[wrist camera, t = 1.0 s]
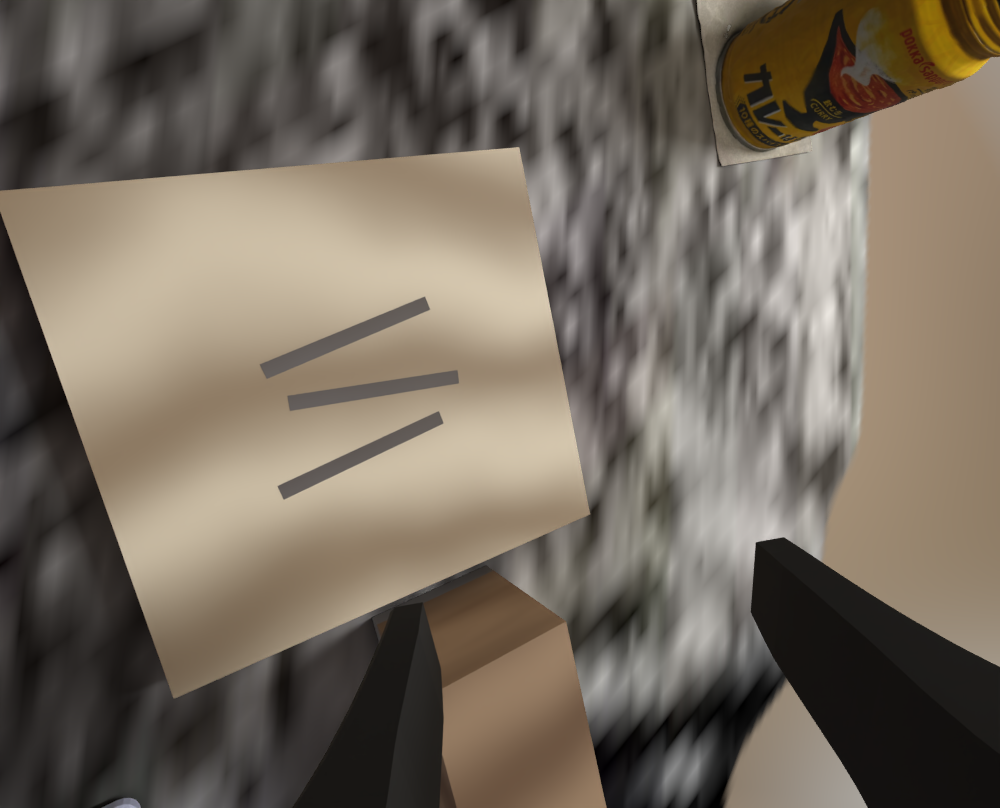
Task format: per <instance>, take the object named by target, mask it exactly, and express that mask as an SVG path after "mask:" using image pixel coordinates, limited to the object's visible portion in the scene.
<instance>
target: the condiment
mask: <svg viewBox="0 0 1000 808" xmlns="http://www.w3.org/2000/svg"><path fill="white" fill-rule="evenodd" d="M697 9H698V17H699V20H700V24H701V35H702V44H703V47H704V51H705V54H704V58H705V63H706V76H707V86H708V93H709V98H710V103H711V113H712V118H713V127H714V132H715V136H716V146H717V152H718V156H719V160H720V163H721V165H722V166H727V165H732V164H739V163H746V162H752V161H758V160H765V159H770V158H776V157H782V156H788V155H793V154H799V153H805V152H811V151H812V144H811V138H810V136H812V135H815V134H817V133H820V132H824V131H826V130H828V129H830V128H833V127H836V126H839V125H842V124H845V123H848V122H851V121H853V120H855V119H858V118H861V117H864V116H867V115H869V114H871V113H874V112H877V111H879V110H882V109H885V108H888V107H892V106H894V105H897V104H899V103H902V102H905V101H906V100H909V99H911V98H914V97H917V96H919V95H922V94H924V93H928V92H930V91H933V90H935V89H941V88H944V87H947V86H951V85H952V84H954V83H956V82H959V81H962V80H964V79H966V78H968V77H970V76H971V75H973V74H974V73H976V72H977V71H978V70H979V69H980V68H981V67H982V66H983V65H984V64H985V63H986V62H987V61H988V60H989V58H990V57H1000V0H697ZM728 25H731V27H730V30H729V31H727V27H728ZM726 33H728V37H727V38H725V34H726Z"/></svg>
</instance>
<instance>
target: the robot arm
mask: <svg viewBox="0 0 1000 808" xmlns="http://www.w3.org/2000/svg"><path fill="white" fill-rule="evenodd" d="M751 613H752V616H753V618H754V620H755V622H756V624H757V626H758V628H759V630H760V632H761V634H762V636H763V638H764V640H765V642H766V644H767V646H768V648H769V650H770V652H771V654H772V656H773V658H774V659H775V661H776V662H777V664H778V666H779V667H780V669H781V670H782V672H783V673H784V675H785V677H786V678H787V680H788V681H789V683H790V684H791V686H792V687H793V689H794V690H795V692H796V693H797V695H798V697H799V698H800V700H801V701H802V702H803V704H804V706H805V707H806V709H807V710H808V712H809V713H810V715H811V716H812V718H813V719H814V721H815V722H816V724H817V725H818V727H819V728H820V730H821V732H822V733H823V735H824V736H825V738H826V739H827V741H828V742H829V744H830V745H831V747H832V748H833V750H834V751H835V753H836V754H837V756H838V757H839V759H840V760H841V762H842V764H843V765H844V767H845V769H846V770H847V772H848V773H849V775H850V777H851V778H852V780H853V782H854V783H855V785H856V787H857V789H858V790H859V792H860V794H861V796H862V798H863V800H864V801H865V803H866V805H867V807H868V808H1000V667H999V666H997V665H995V664H993V663H991V662H989V661H987V660H984V659H983V658H981V657H979V656H977V655H975V654H973V653H971V652H969V651H967V650H965V649H963V648H961V647H960V646H958V645H956V644H954V643H952V642H950V641H948V640H947V639H945V638H943V637H941V636H940V635H938V634H936V633H934V632H933V631H931V630H929V629H927V628H926V627H924V626H922V625H920V624H919V623H916V622H915V621H913V620H912V619H910V618H908V617H906V616H905V615H903V614H902V613H899V612H898V611H897V610H895V609H893V608H892V607H890V606H888V605H887V604H885V603H884V602H882V601H880V600H879V599H877V598H876V597H874V596H873V595H871V594H869V593H868V592H866V591H865V590H863V589H861V588H860V587H858V586H857V585H855V584H854V583H852V582H851V581H849V580H848V579H846V578H844V577H843V576H841V575H840V574H839V573H837V572H836V571H834V570H832V569H831V568H829V567H828V566H826V565H825V564H824V563H822V562H821V561H819V560H818V559H816V558H815V557H813V556H812V555H810V554H809V553H807V552H806V551H804V550H803V549H801V548H800V547H798V546H796V545H795V544H793V543H792V542H790V541H789V540H787V539H786V538H784V537H783V538H778V539H772V540H766V541H761V542H756V549H755V562H754V576H753V590H752V603H751ZM443 724H444V714H443V693H442V676H441V666H440V663H439V659H438V655H437V652H436V648H435V645H434V641H433V637H432V634H431V630H430V626H429V623H428V619H427V615H426V612H425V608H424V604H423V602H421V603H415V604H410V605H404V606H398V607H394V608H393V610H392V611H391V612H390V614H389V617H388V620H387V623H386V626H385V628H384V631H383V634H382V636H381V639H380V641H379V644H378V646H377V649H376V651H375V653H374V656H373V658H372V661H371V663H370V665H369V668H368V670H367V672H366V674H365V676H364V678H363V681H362V683H361V685H360V687H359V689H358V691H357V693H356V696H355V698H354V700H353V702H352V704H351V706H350V708H349V710H348V712H347V714H346V716H345V718H344V720H343V721H342V723H341V725H340V727H339V729H338V731H337V733H336V735H335V737H334V739H333V741H332V742H331V744H330V746H329V748H328V750H327V752H326V753H325V755H324V757H323V759H322V760H321V762H320V764H319V766H318V767H317V769H316V771H315V772H314V774H313V776H312V777H311V779H310V781H309V782H308V784H307V785H306V787H305V789H304V790H303V792H302V794H301V795H300V797H299V798H298V800H297V802H296V803H295V805H294V806H293V808H439V805H440V786H441V767H442V746H443ZM102 808H141V807H140V804H139V803H138V802H137V800H135V799H132V798H122V799H119V800H116V801H114V802H112V803H110V804H108V805H106V806H104V807H102Z"/></svg>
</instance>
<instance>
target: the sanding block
mask: <svg viewBox="0 0 1000 808" xmlns="http://www.w3.org/2000/svg"><path fill="white" fill-rule="evenodd" d="M421 602H423V604H424V608H425V612H426V615H427V619H428V623H429V626H430V630H431V634H432V637H433V641H434V645H435V648H436V652H437V655H438V659H439V663H440V666H441V676H442V693H443V714H444V724H443V746H442V767H441V786H440V805H439V808H606V804H605V799H604V795H603V790H602V785H601V781H600V776H599V772H598V767H597V762H596V758H595V753H594V749H593V744H592V739H591V735H590V730H589V726H588V721H587V716H586V712H585V707H584V702H583V698H582V693H581V689H580V684H579V679H578V675H577V670H576V666H575V661H574V656H573V652H572V647H571V643H570V638H569V633H568V629H567V624H566V621H565V620H563V619H562V618H560V617H559V616H557V615H556V614H555V613H553V612H552V611H550V610H549V609H547V608H546V607H545V606H543V605H542V604H540V603H539V602H537V601H536V600H535V599H533V598H532V597H530V596H529V595H528V594H526V593H525V592H523V591H522V590H520V589H519V588H518V587H516V586H515V585H513V584H512V583H510V582H509V581H508V580H506V579H505V578H503V577H502V576H500V575H499V574H498V573H496V572H495V571H493V570H492V569H490V568H489V567H488V566H483V567H481V568H479V569H477V570H475V571H473V572H470V573H468V574H466V575H464V576H462V577H459V578H457V579H455V580H453V581H451V582H448V583H446V584H444V585H442V586H440V587H437V588H435V589H433V590H431V591H429V592H427V593H424V594H422V595H420V596H418V597H416V598H413V599H411V600H409V601H407V602H405V603H402V604H400V605H398V606H404V605H410V604H415V603H421ZM398 606H396V607H398ZM392 610H393V608H392V609H389V610H387V611H385V612H383V613H381V614H378V615H376V616H374V617H372V620H373V623H374V627H375V630H376V634H377V637H378V641H380V639H381V636H382V634H383V631H384V628H385V626H386V623H387V620H388V617H389V614H390V612H391V611H392Z"/></svg>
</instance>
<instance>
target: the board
mask: <svg viewBox="0 0 1000 808" xmlns="http://www.w3.org/2000/svg"><path fill="white" fill-rule="evenodd" d="M0 212H1V215H2V218H3V221H4V224H5V226H6V229H7V232H8V235H9V238H10V240H11V243H12V246H13V249H14V252H15V255H16V257H17V260H18V263H19V266H20V269H21V271H22V274H23V277H24V280H25V283H26V285H27V288H28V291H29V294H30V297H31V299H32V302H33V305H34V308H35V311H36V313H37V316H38V319H39V322H40V325H41V327H42V330H43V333H44V336H45V339H46V341H47V344H48V347H49V350H50V353H51V356H52V358H53V361H54V364H55V367H56V370H57V372H58V375H59V378H60V381H61V384H62V386H63V389H64V392H65V395H66V398H67V400H68V403H69V406H70V409H71V412H72V414H73V417H74V420H75V423H76V426H77V428H78V431H79V434H80V437H81V440H82V443H83V445H84V448H85V451H86V454H87V457H88V459H89V462H90V465H91V468H92V471H93V473H94V476H95V479H96V482H97V485H98V487H99V490H100V493H101V496H102V499H103V501H104V504H105V507H106V510H107V513H108V515H109V518H110V521H111V524H112V527H113V529H114V532H115V535H116V538H117V541H118V544H119V546H120V549H121V552H122V555H123V558H124V560H125V563H126V566H127V569H128V572H129V574H130V577H131V580H132V583H133V586H134V588H135V591H136V594H137V597H138V600H139V602H140V605H141V608H142V611H143V614H144V616H145V619H146V622H147V625H148V628H149V631H150V633H151V636H152V639H153V642H154V645H155V647H156V650H157V653H158V656H159V659H160V661H161V664H162V667H163V670H164V673H165V675H166V678H167V681H168V684H169V687H170V689H171V692H172V695H173V698H174V699H175V698H177V697H179V696H181V695H184V694H186V693H188V692H190V691H193V690H195V689H197V688H199V687H202V686H204V685H206V684H208V683H211V682H213V681H215V680H217V679H220V678H222V677H224V676H226V675H229V674H231V673H233V672H235V671H238V670H240V669H242V668H244V667H247V666H249V665H251V664H253V663H256V662H258V661H260V660H262V659H265V658H267V657H269V656H271V655H274V654H276V653H278V652H281V651H283V650H285V649H287V648H290V647H292V646H294V645H296V644H299V643H301V642H303V641H305V640H308V639H310V638H312V637H314V636H317V635H319V634H321V633H323V632H326V631H328V630H330V629H332V628H335V627H337V626H339V625H341V624H344V623H346V622H348V621H350V620H353V619H355V618H357V617H359V616H362V615H364V614H366V613H368V612H371V611H373V610H375V609H377V608H380V607H382V606H384V605H386V604H389V603H391V602H393V601H396V600H398V599H400V598H402V597H405V596H407V595H409V594H411V593H414V592H416V591H418V590H420V589H423V588H425V587H427V586H429V585H432V584H434V583H436V582H438V581H441V580H443V579H445V578H447V577H450V576H452V575H454V574H456V573H459V572H461V571H463V570H465V569H468V568H470V567H472V566H474V565H477V564H479V563H481V562H483V561H486V560H488V559H490V558H492V557H495V556H497V555H499V554H501V553H504V552H506V551H508V550H511V549H513V548H515V547H517V546H520V545H522V544H524V543H526V542H529V541H531V540H533V539H535V538H538V537H540V536H542V535H544V534H547V533H549V532H551V531H553V530H556V529H558V528H560V527H562V526H565V525H567V524H569V523H571V522H574V521H576V520H578V519H580V518H583V517H585V516H587V515H589V514H590V512H589V507H588V502H587V496H586V491H585V486H584V481H583V476H582V471H581V465H580V460H579V455H578V450H577V445H576V439H575V434H574V429H573V424H572V419H571V414H570V408H569V403H568V398H567V393H566V388H565V383H564V377H563V372H562V367H561V362H560V357H559V351H558V346H557V341H556V336H555V331H554V326H553V320H552V315H551V310H550V305H549V300H548V294H547V289H546V284H545V279H544V274H543V269H542V263H541V258H540V253H539V248H538V243H537V237H536V232H535V227H534V222H533V217H532V212H531V206H530V201H529V196H528V191H527V186H526V180H525V175H524V170H523V165H522V160H521V155H520V149H519V147H517V148H505V149H493V150H481V151H470V152H458V153H446V154H434V155H422V156H410V157H398V158H386V159H375V160H363V161H351V162H339V163H327V164H315V165H303V166H291V167H280V168H268V169H256V170H244V171H232V172H220V173H208V174H196V175H184V176H173V177H161V178H149V179H137V180H125V181H113V182H101V183H89V184H78V185H66V186H54V187H42V188H30V189H18V190H6V191H0Z"/></svg>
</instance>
